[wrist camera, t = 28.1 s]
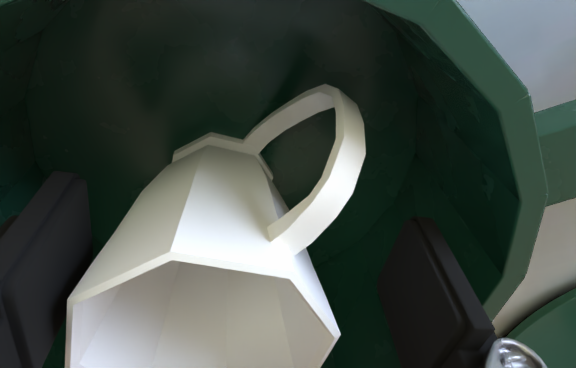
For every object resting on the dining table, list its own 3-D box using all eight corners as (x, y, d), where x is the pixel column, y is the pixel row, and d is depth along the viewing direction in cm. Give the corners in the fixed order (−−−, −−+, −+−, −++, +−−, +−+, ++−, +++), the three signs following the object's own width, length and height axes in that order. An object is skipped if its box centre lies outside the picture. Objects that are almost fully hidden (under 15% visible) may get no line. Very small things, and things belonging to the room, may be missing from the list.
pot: (-169, 53, 13) (-534, 176, 7) (487, -225, 11) (810, -409, 5) (110, 331, 22) (58, 491, 16) (500, 214, 20) (614, 350, 14)
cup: (101, 192, 17) (4, 379, 10) (247, -12, 13) (249, 70, 6) (238, 262, 20) (234, 443, 13) (390, 114, 16) (496, 261, 9)
